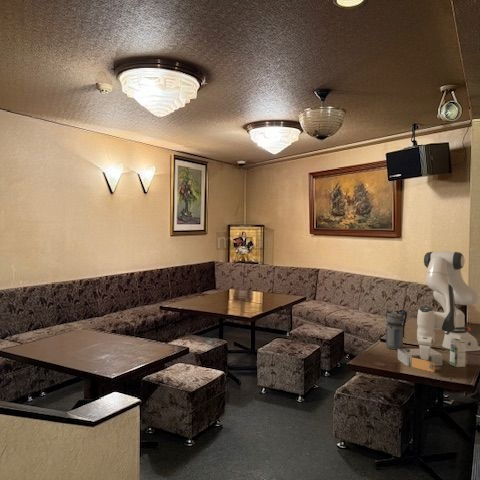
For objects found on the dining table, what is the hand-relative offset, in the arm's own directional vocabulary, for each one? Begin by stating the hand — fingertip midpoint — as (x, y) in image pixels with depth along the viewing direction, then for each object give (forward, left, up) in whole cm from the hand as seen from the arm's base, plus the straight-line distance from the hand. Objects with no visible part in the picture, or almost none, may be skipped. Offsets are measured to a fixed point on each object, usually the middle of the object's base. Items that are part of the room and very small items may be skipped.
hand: (425, 362), depth 219 cm
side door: (+2, 0, -3) cm, 4 cm away
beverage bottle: (0, -40, -4) cm, 40 cm away
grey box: (-2, -12, -3) cm, 12 cm away
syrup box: (-21, -6, -4) cm, 22 cm away
